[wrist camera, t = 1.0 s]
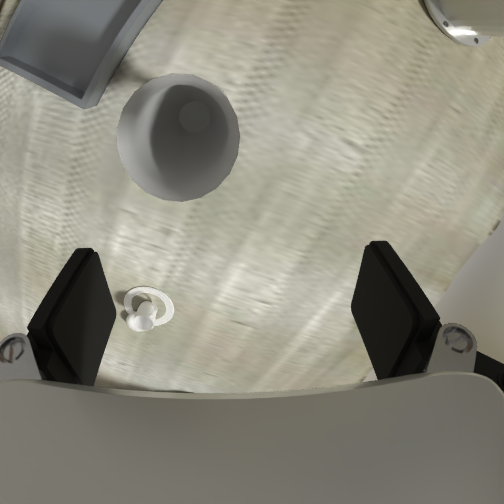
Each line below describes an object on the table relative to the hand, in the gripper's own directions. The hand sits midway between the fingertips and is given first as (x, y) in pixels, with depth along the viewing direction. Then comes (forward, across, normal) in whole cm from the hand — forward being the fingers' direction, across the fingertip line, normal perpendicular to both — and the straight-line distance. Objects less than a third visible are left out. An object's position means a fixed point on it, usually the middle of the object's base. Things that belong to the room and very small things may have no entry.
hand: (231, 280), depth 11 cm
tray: (+26, +17, -16) cm, 35 cm away
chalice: (+26, +3, -3) cm, 27 cm away
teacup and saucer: (+27, +16, +24) cm, 40 cm away
